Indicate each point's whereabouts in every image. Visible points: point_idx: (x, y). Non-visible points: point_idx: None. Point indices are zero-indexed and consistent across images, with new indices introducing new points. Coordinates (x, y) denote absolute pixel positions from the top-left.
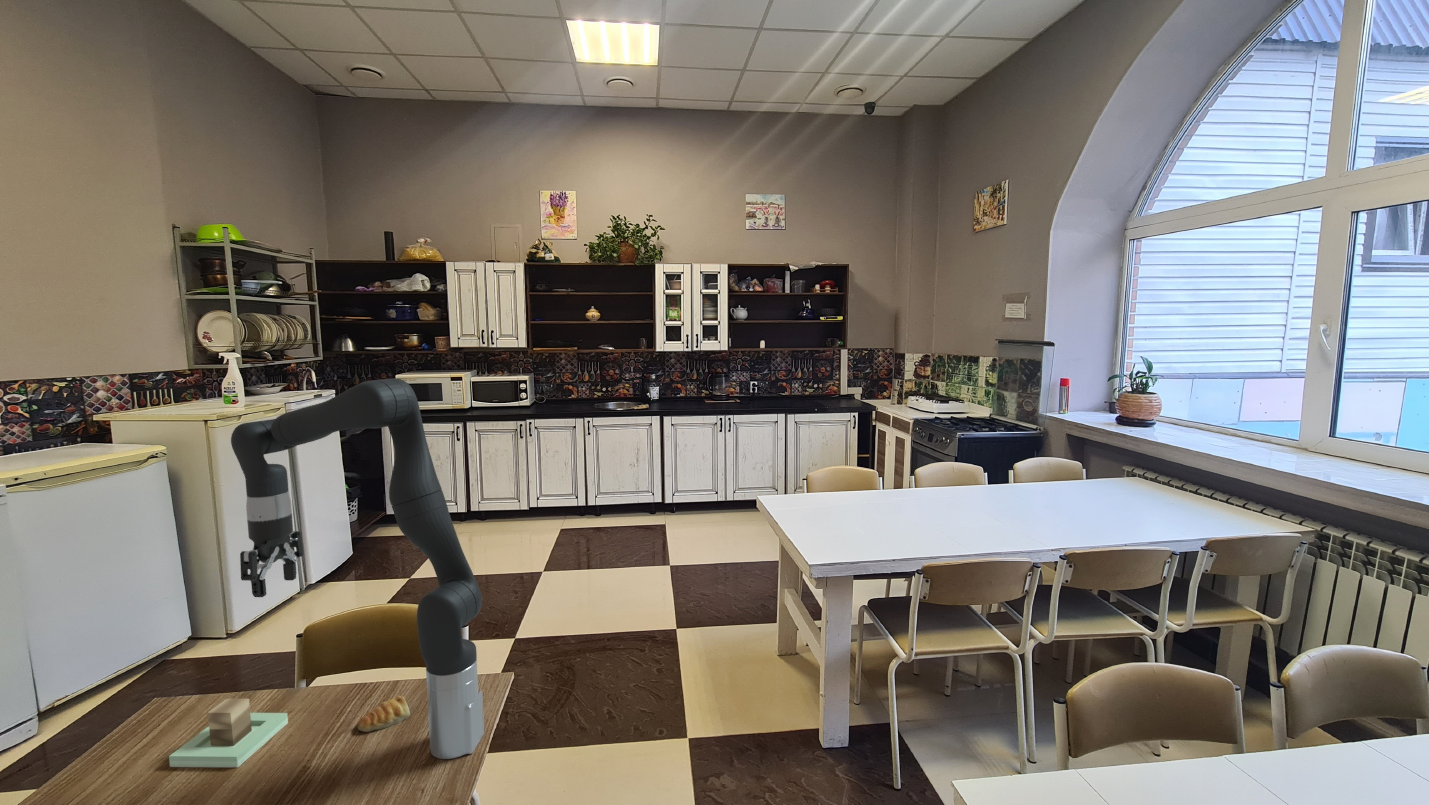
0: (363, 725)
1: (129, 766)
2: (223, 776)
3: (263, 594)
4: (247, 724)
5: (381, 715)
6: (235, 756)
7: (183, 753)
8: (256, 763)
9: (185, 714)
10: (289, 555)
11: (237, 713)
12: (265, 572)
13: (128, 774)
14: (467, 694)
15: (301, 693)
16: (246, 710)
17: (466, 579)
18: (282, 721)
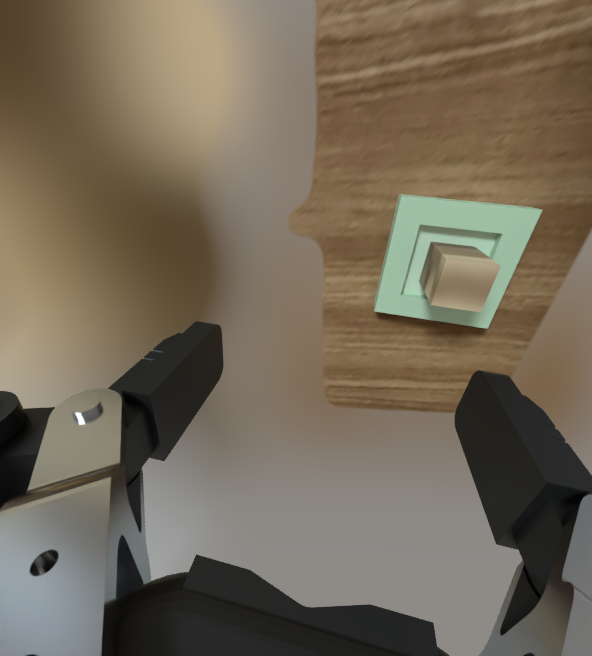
0: None
1: (457, 370)
2: (550, 218)
3: (509, 383)
4: (443, 246)
5: None
6: (540, 212)
7: (487, 311)
8: (530, 176)
9: (340, 370)
10: (112, 520)
11: (477, 259)
12: (588, 561)
13: (478, 362)
14: None
15: (300, 227)
16: (450, 254)
17: None
18: (415, 196)
